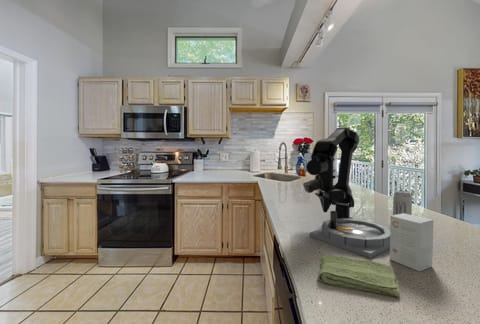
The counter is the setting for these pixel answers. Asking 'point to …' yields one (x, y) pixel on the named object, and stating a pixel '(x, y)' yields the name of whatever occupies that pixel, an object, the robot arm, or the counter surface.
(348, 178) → the robot arm
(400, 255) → the small box
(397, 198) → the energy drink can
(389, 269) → the washcloth
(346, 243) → the grey round platform
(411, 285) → the counter surface
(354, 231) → the dial
